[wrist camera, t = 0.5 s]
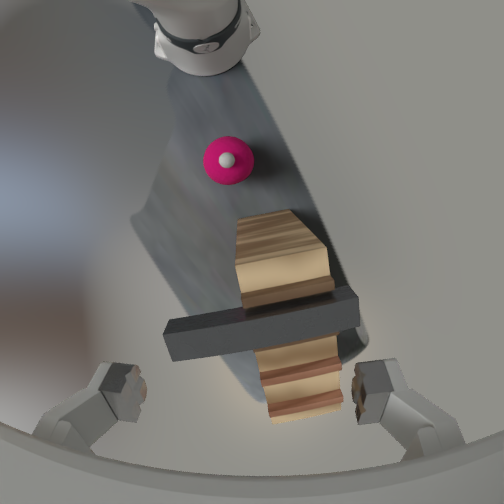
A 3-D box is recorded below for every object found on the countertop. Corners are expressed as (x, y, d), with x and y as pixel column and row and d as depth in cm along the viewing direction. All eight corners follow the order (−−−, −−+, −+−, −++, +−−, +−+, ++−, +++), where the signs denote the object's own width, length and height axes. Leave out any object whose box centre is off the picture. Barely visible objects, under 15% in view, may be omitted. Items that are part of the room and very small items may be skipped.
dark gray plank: (177, 345, 33) (172, 361, 30) (169, 319, 32) (162, 334, 29) (350, 312, 33) (360, 326, 30) (348, 284, 32) (358, 297, 29)
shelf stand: (237, 219, 56) (234, 270, 29) (288, 209, 56) (330, 251, 29) (261, 329, 62) (273, 432, 35) (306, 319, 62) (343, 417, 35)
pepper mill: (260, 152, 53) (271, 146, 34) (240, 189, 55) (240, 204, 35) (222, 133, 52) (212, 116, 33) (203, 170, 53) (182, 175, 34)
